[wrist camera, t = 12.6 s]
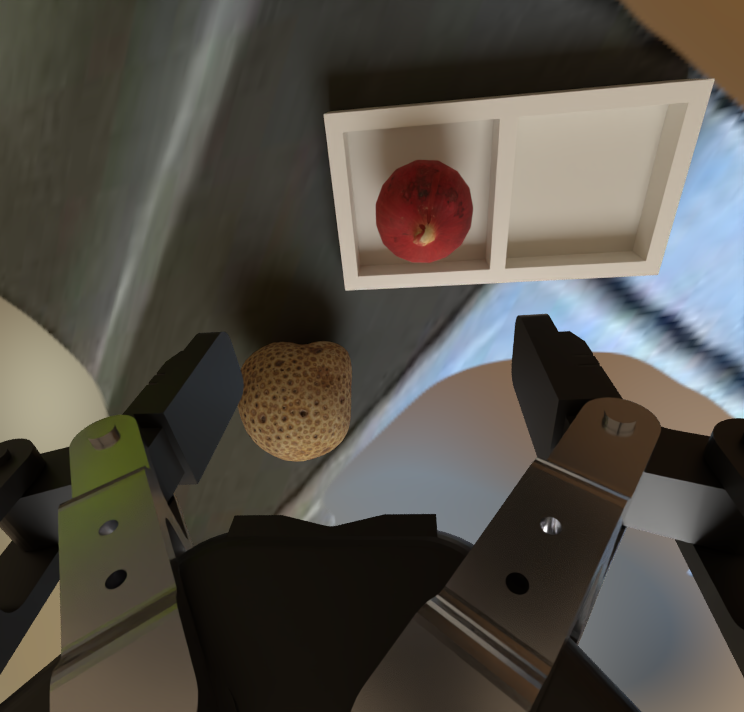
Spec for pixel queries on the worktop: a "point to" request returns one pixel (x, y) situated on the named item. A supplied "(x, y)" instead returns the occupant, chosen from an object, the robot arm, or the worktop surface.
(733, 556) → the robot arm
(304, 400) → the natural sponge
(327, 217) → the worktop surface
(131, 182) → the worktop surface
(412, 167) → the onion
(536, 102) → the well holder
